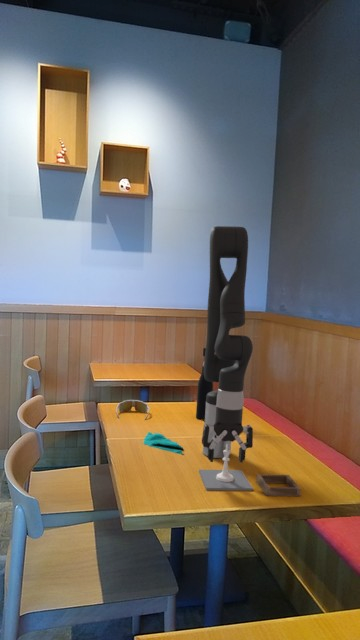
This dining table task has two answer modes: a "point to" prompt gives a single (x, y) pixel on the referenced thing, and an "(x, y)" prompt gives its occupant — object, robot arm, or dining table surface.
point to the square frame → (278, 491)
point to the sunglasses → (133, 403)
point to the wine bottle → (202, 393)
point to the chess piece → (225, 468)
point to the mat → (214, 484)
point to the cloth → (161, 442)
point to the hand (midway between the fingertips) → (225, 461)
